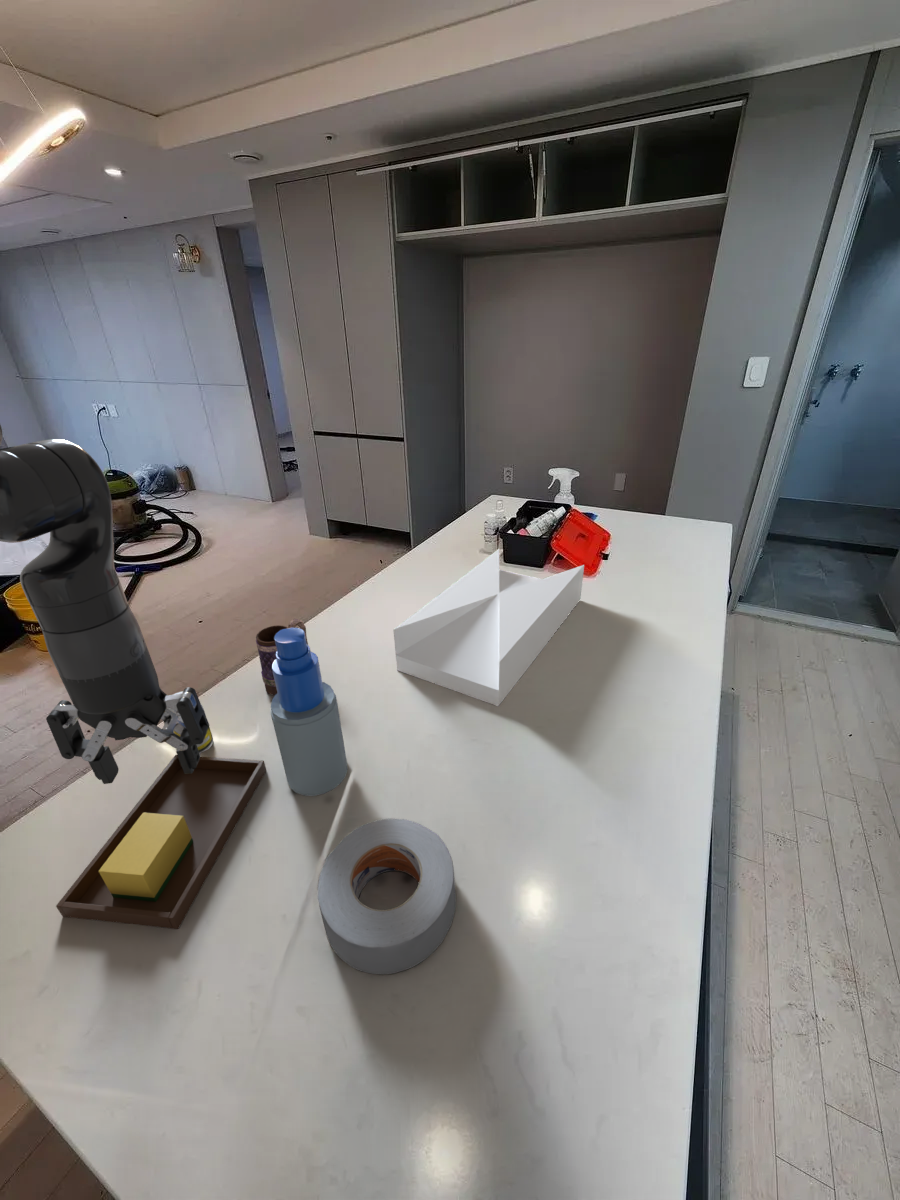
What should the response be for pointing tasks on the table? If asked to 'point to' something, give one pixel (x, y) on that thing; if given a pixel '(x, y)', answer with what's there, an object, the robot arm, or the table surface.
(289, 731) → the spray bottle
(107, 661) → the robot arm
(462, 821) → the table surface
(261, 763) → the tray
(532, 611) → the building model
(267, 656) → the mug
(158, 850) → the sponge
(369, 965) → the tape roll
